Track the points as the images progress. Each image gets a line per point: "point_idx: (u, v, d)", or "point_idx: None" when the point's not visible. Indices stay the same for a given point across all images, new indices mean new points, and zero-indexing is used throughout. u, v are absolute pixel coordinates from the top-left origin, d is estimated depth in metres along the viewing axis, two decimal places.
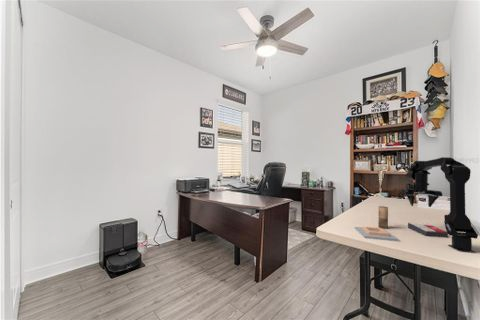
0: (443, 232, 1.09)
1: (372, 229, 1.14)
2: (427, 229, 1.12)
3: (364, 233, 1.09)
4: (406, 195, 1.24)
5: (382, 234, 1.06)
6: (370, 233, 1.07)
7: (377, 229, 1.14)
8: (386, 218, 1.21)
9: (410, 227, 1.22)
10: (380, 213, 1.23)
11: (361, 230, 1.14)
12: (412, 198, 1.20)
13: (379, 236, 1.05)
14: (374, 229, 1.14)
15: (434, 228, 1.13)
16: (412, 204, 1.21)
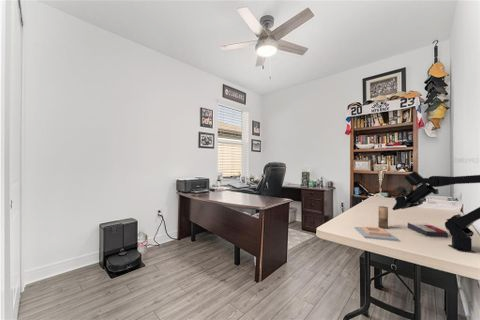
0: (443, 232, 1.09)
1: (372, 229, 1.14)
2: (427, 229, 1.12)
3: (364, 233, 1.09)
4: (396, 201, 1.12)
5: (382, 234, 1.06)
6: (370, 233, 1.07)
7: (377, 229, 1.14)
8: (386, 218, 1.21)
9: (410, 227, 1.22)
10: (380, 213, 1.23)
11: (361, 230, 1.14)
12: (402, 208, 1.10)
13: (379, 236, 1.05)
14: (374, 229, 1.14)
15: (434, 228, 1.13)
16: (395, 209, 1.14)
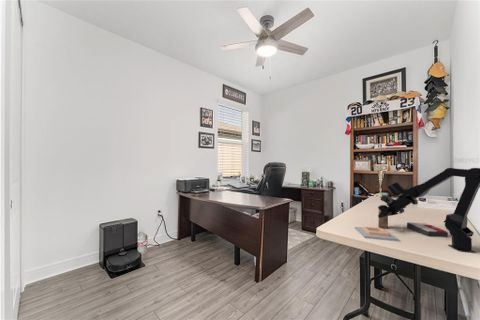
0: (443, 232, 1.10)
1: (372, 229, 1.14)
2: (428, 229, 1.12)
3: (364, 233, 1.09)
4: None
5: (382, 234, 1.06)
6: (370, 233, 1.07)
7: (377, 229, 1.14)
8: (386, 218, 1.21)
9: (409, 227, 1.22)
10: None
11: (361, 230, 1.14)
12: None
13: (379, 236, 1.05)
14: (374, 229, 1.14)
15: (434, 228, 1.14)
16: None
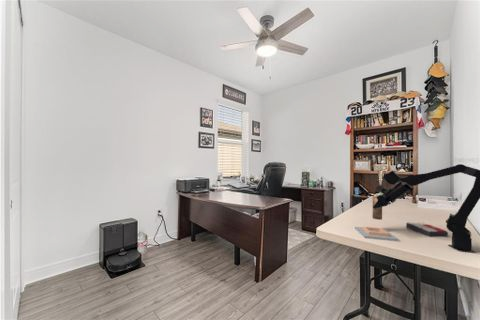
0: (444, 231, 1.10)
1: (372, 229, 1.14)
2: (429, 229, 1.12)
3: (364, 233, 1.09)
4: (378, 199, 1.15)
5: (382, 234, 1.06)
6: (370, 233, 1.07)
7: (377, 229, 1.14)
8: (381, 208, 1.17)
9: (409, 227, 1.22)
10: (375, 203, 1.18)
11: (361, 230, 1.14)
12: None
13: (379, 236, 1.05)
14: (374, 229, 1.14)
15: (434, 227, 1.14)
16: None
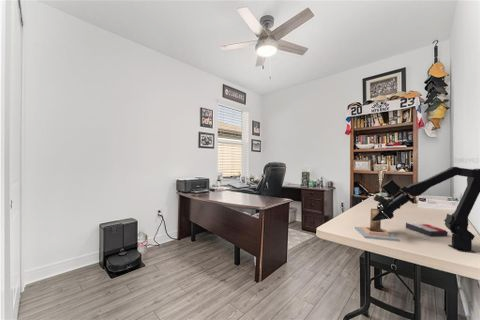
0: (444, 231, 1.11)
1: None
2: (430, 229, 1.12)
3: (364, 233, 1.09)
4: (379, 211, 1.05)
5: (382, 234, 1.06)
6: (370, 233, 1.07)
7: None
8: (380, 221, 1.09)
9: (409, 227, 1.22)
10: None
11: (361, 230, 1.14)
12: None
13: (379, 236, 1.05)
14: None
15: (433, 227, 1.15)
16: (375, 220, 1.07)
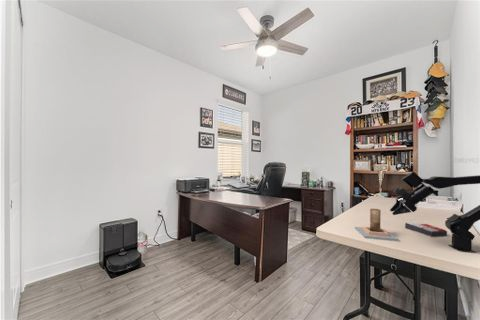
0: (443, 231, 1.11)
1: None
2: (430, 229, 1.12)
3: (364, 233, 1.09)
4: (401, 205, 1.00)
5: (382, 234, 1.06)
6: (370, 233, 1.07)
7: None
8: None
9: (409, 227, 1.21)
10: (374, 217, 1.09)
11: (361, 230, 1.14)
12: None
13: (379, 236, 1.05)
14: None
15: (433, 227, 1.15)
16: (396, 214, 1.02)
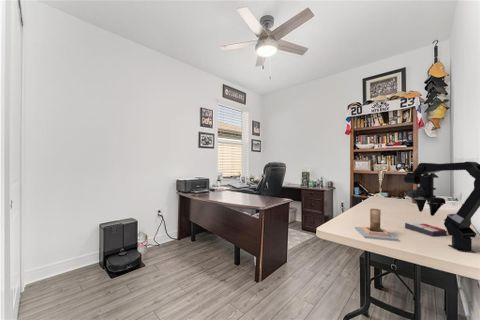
0: (443, 230, 1.12)
1: None
2: (431, 229, 1.12)
3: (364, 233, 1.09)
4: (431, 204, 1.02)
5: (382, 234, 1.06)
6: (370, 233, 1.07)
7: None
8: None
9: (409, 227, 1.21)
10: (374, 217, 1.09)
11: (361, 230, 1.14)
12: None
13: (379, 236, 1.05)
14: None
15: (433, 227, 1.16)
16: (434, 214, 1.03)
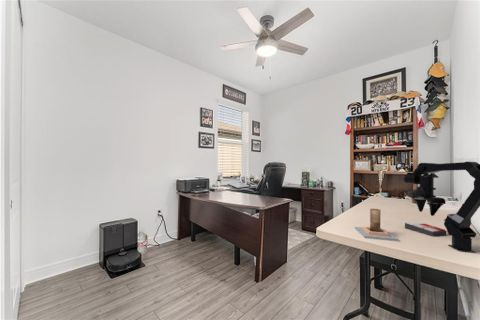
0: (443, 230, 1.12)
1: None
2: (431, 229, 1.12)
3: (364, 233, 1.09)
4: (431, 204, 1.02)
5: (382, 234, 1.06)
6: (370, 233, 1.07)
7: None
8: None
9: (409, 227, 1.21)
10: (374, 217, 1.09)
11: (361, 230, 1.14)
12: None
13: (379, 236, 1.05)
14: None
15: (432, 227, 1.16)
16: (434, 214, 1.03)
